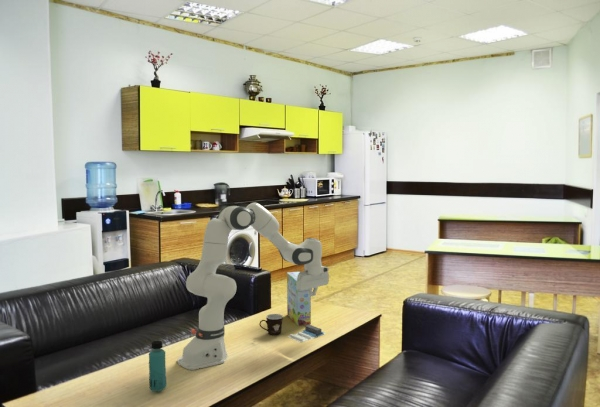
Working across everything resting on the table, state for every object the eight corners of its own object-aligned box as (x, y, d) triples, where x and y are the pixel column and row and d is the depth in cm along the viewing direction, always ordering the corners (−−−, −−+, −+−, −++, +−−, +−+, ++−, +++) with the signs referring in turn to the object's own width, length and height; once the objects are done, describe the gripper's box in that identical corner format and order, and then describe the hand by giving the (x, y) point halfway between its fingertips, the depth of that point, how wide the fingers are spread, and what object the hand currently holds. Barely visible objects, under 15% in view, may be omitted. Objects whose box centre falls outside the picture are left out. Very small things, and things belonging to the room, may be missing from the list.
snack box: (285, 314, 277) (286, 271, 274) (299, 313, 279) (300, 271, 277) (296, 327, 256) (296, 281, 254) (311, 325, 259) (312, 280, 256)
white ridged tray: (300, 344, 232) (300, 340, 232) (287, 338, 240) (287, 334, 239) (326, 335, 244) (326, 331, 244) (312, 330, 252) (312, 326, 252)
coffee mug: (283, 332, 248) (283, 314, 247) (281, 338, 239) (281, 319, 238) (262, 331, 249) (262, 313, 248) (259, 337, 241) (259, 318, 240)
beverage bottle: (168, 387, 187) (167, 338, 186) (164, 395, 181) (163, 345, 179) (151, 387, 187) (150, 338, 185) (146, 395, 181) (145, 345, 179)
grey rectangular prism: (317, 336, 241) (317, 330, 240) (305, 331, 247) (305, 325, 247) (321, 334, 243) (321, 329, 242) (309, 330, 249) (309, 324, 249)
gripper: (302, 273, 233) (301, 300, 234) (331, 267, 246) (330, 293, 247) (293, 271, 237) (293, 298, 238) (322, 265, 251) (322, 291, 252)
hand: (312, 295), depth 243 cm, fingers closed
